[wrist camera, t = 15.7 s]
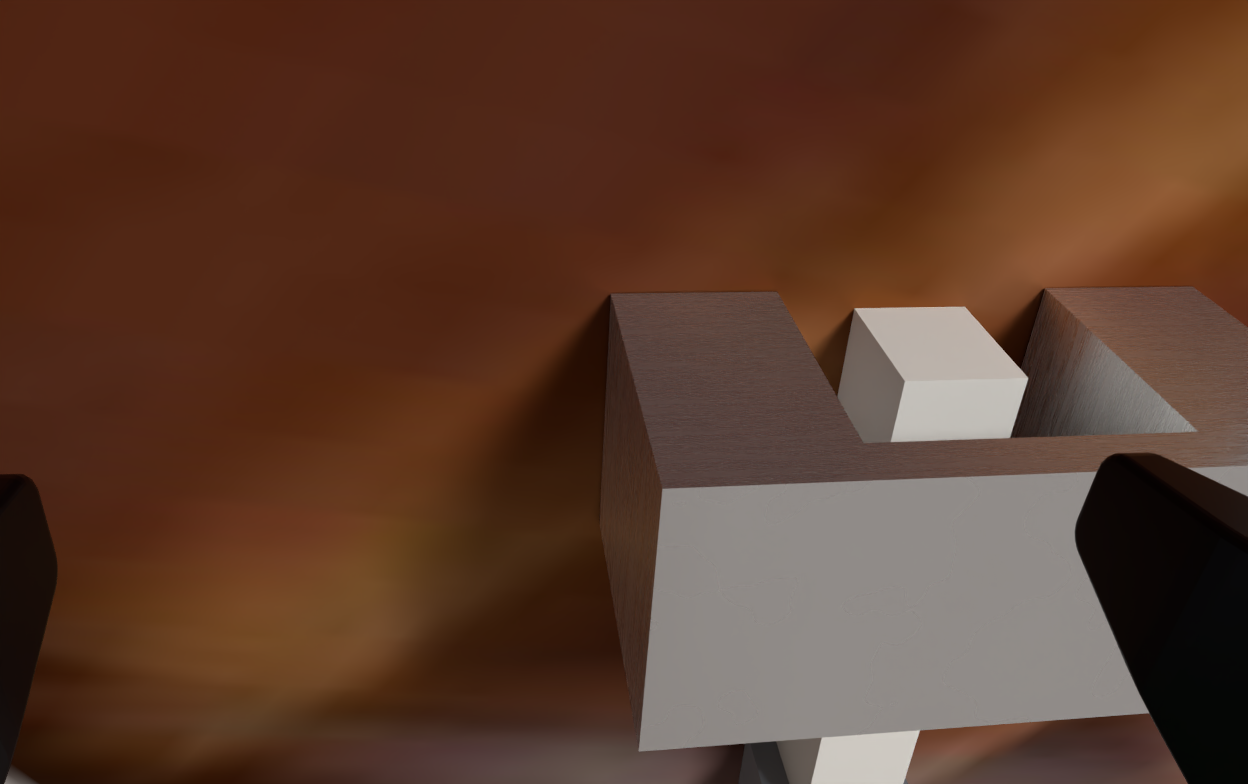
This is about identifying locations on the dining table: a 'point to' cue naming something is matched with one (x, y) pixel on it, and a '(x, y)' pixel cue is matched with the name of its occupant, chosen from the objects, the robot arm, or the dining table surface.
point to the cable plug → (901, 412)
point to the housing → (882, 519)
